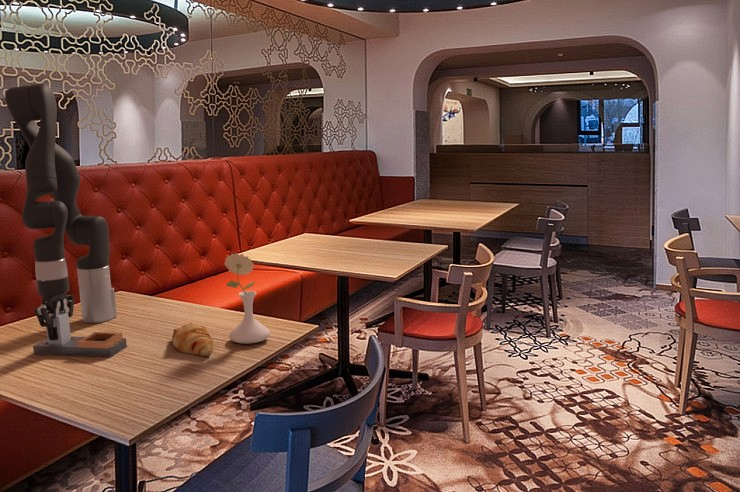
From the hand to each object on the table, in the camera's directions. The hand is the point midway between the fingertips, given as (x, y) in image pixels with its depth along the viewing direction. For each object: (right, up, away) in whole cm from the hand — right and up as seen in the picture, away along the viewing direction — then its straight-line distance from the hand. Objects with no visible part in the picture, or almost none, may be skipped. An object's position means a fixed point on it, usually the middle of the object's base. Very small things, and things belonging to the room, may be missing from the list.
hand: (59, 336), depth 161 cm
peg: (0, -4, +1) cm, 4 cm away
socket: (+6, -4, 0) cm, 7 cm away
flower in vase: (+50, -2, +7) cm, 51 cm away
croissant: (+36, -4, +1) cm, 36 cm away
